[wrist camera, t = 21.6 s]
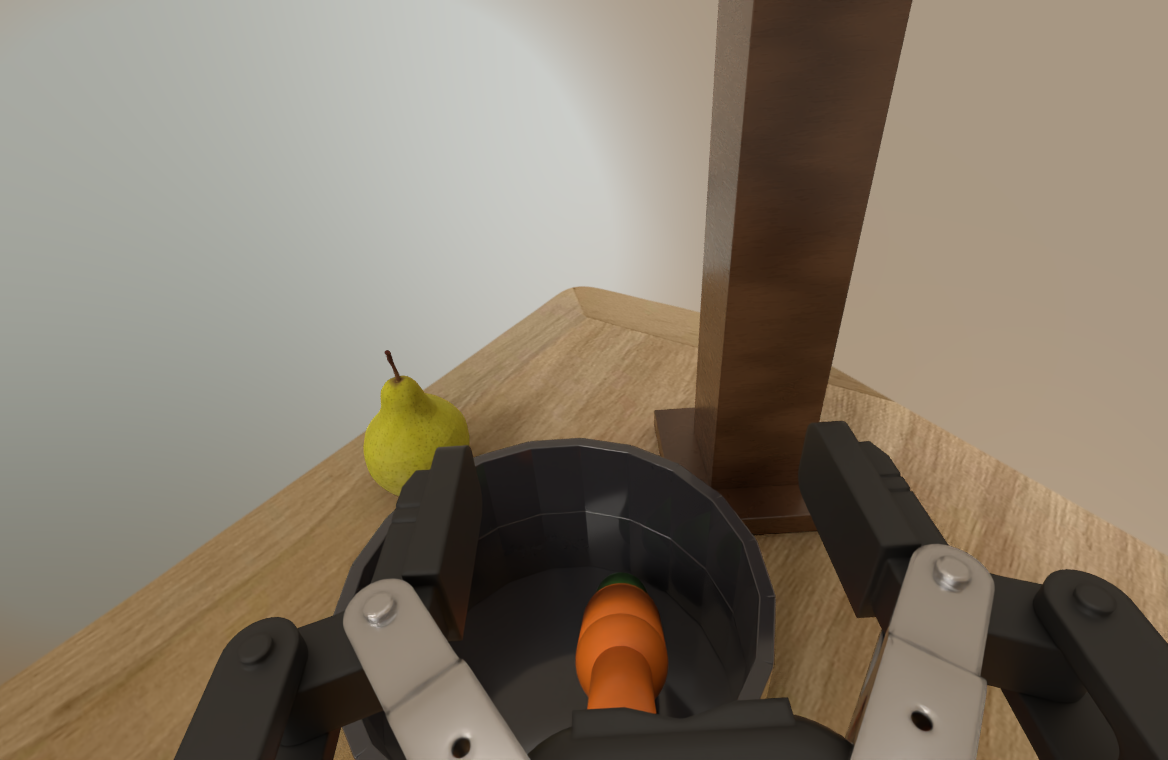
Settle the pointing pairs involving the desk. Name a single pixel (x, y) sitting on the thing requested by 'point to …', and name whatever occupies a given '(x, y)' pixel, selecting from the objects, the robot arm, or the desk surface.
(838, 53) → the stand
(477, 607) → the pot
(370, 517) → the desk surface
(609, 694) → the carrot
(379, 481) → the fruit
